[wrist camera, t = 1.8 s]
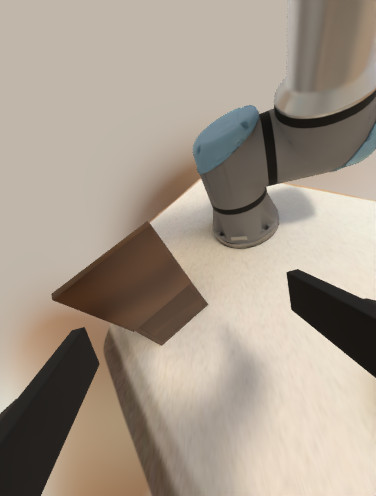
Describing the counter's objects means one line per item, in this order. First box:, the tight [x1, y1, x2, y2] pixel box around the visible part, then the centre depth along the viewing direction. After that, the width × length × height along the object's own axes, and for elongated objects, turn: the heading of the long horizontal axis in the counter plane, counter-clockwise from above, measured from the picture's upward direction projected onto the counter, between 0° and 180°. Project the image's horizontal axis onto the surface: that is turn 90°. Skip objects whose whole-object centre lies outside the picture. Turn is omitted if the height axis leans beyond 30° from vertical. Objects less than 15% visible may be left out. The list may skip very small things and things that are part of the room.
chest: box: [135, 282, 208, 346], centre depth 38 cm, size 14×12×9 cm
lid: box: [52, 221, 191, 332], centre depth 24 cm, size 14×12×1 cm
